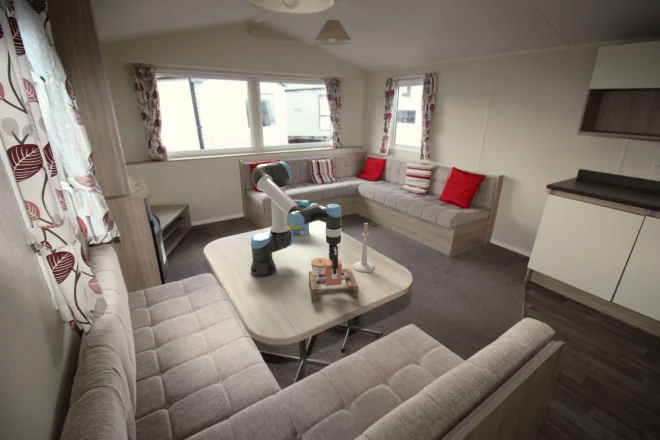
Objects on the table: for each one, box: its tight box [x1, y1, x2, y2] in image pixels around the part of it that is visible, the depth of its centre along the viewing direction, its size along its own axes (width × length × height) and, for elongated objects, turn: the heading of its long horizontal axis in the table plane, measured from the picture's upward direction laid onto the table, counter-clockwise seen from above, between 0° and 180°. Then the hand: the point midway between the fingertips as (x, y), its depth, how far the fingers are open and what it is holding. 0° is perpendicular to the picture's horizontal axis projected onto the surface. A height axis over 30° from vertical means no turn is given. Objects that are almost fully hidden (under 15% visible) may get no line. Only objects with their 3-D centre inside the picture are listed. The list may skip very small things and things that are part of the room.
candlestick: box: [353, 222, 375, 273], centre depth 186 cm, size 13×13×30 cm
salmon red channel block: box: [325, 258, 343, 287], centre depth 160 cm, size 8×6×12 cm
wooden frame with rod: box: [308, 267, 359, 304], centre depth 165 cm, size 24×18×10 cm
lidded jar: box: [310, 257, 329, 271], centre depth 183 cm, size 11×11×9 cm
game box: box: [286, 198, 310, 236], centre depth 237 cm, size 20×6×27 cm, turn 81°
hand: (333, 275), depth 161 cm, fingers closed on salmon red channel block, 6 cm apart
